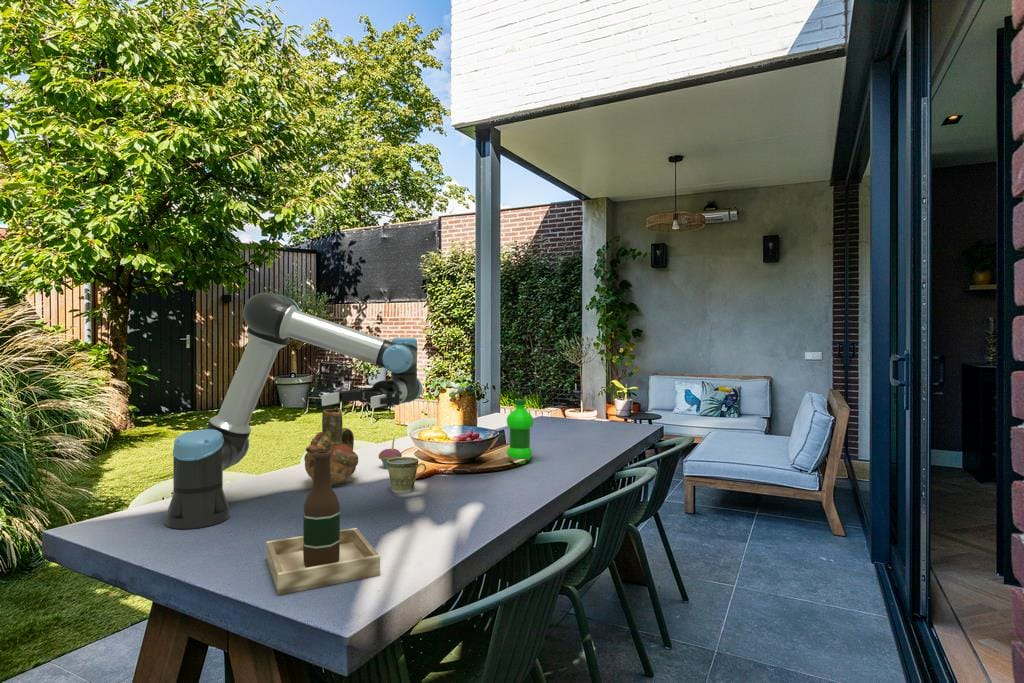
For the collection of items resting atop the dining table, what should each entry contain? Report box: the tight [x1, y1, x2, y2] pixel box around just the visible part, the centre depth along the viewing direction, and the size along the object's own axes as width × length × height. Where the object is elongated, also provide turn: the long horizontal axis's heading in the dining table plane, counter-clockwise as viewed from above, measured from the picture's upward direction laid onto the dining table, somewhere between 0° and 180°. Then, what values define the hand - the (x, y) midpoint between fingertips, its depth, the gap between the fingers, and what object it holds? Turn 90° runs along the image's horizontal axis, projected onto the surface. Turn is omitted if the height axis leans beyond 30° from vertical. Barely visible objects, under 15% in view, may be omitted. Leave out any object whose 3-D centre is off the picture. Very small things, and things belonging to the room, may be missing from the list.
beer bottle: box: [302, 451, 341, 568], centre depth 124 cm, size 8×8×24 cm
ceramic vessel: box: [303, 408, 359, 485], centre depth 192 cm, size 17×26×25 cm, turn 170°
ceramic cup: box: [387, 456, 427, 495], centre depth 184 cm, size 13×10×10 cm
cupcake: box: [378, 437, 403, 470], centre depth 217 cm, size 9×8×12 cm
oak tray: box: [265, 527, 381, 596], centre depth 124 cm, size 20×20×4 cm
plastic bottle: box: [506, 398, 534, 465], centre depth 227 cm, size 10×10×25 cm
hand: (347, 401), depth 141 cm, fingers open, 13 cm apart
